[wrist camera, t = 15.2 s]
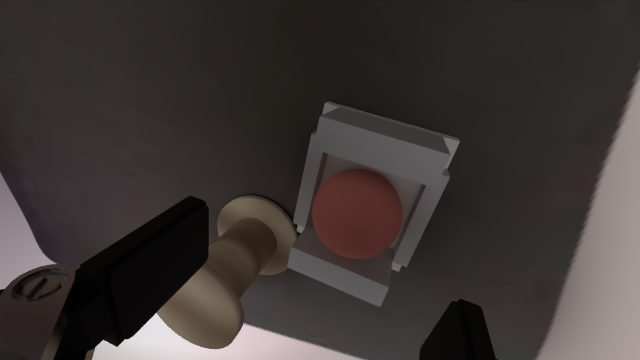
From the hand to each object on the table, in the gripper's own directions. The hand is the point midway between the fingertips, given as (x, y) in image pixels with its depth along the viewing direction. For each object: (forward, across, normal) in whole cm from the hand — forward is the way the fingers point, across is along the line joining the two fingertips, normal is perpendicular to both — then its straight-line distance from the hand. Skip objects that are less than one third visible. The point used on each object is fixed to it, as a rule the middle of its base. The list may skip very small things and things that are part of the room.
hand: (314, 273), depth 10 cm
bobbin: (+11, +7, +10) cm, 16 cm away
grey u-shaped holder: (+11, -1, +2) cm, 11 cm away
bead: (+10, -1, +2) cm, 10 cm away
